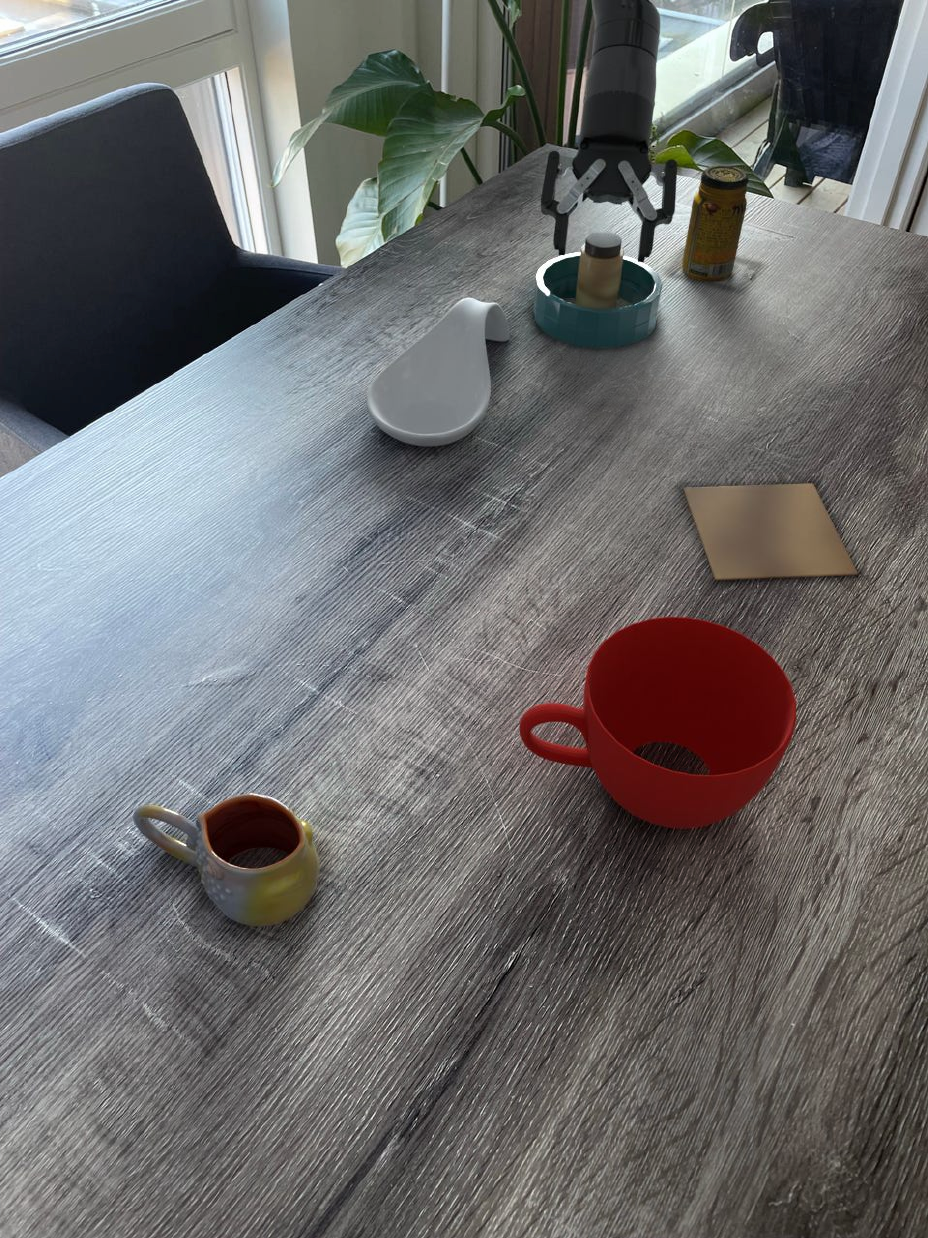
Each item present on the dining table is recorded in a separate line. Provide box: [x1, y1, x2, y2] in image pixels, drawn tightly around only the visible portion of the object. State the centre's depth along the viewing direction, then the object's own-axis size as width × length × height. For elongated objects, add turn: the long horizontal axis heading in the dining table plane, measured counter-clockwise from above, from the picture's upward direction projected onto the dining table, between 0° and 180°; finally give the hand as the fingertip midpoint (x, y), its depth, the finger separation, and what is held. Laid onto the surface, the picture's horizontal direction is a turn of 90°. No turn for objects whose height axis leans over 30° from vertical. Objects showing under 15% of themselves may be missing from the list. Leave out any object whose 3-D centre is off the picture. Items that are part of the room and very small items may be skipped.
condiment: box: [681, 164, 756, 283], centre depth 115 cm, size 7×8×12 cm
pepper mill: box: [574, 231, 625, 309], centre depth 108 cm, size 5×5×9 cm
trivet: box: [682, 483, 859, 581], centre depth 86 cm, size 12×12×1 cm
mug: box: [132, 791, 321, 928], centre depth 61 cm, size 12×7×7 cm, turn 69°
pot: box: [532, 251, 663, 349], centre depth 110 cm, size 14×14×5 cm
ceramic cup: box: [518, 616, 797, 830], centre depth 65 cm, size 13×17×10 cm
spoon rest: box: [365, 297, 510, 447], centre depth 99 cm, size 24×12×7 cm, turn 160°
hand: (601, 256), depth 107 cm, fingers open, 8 cm apart
